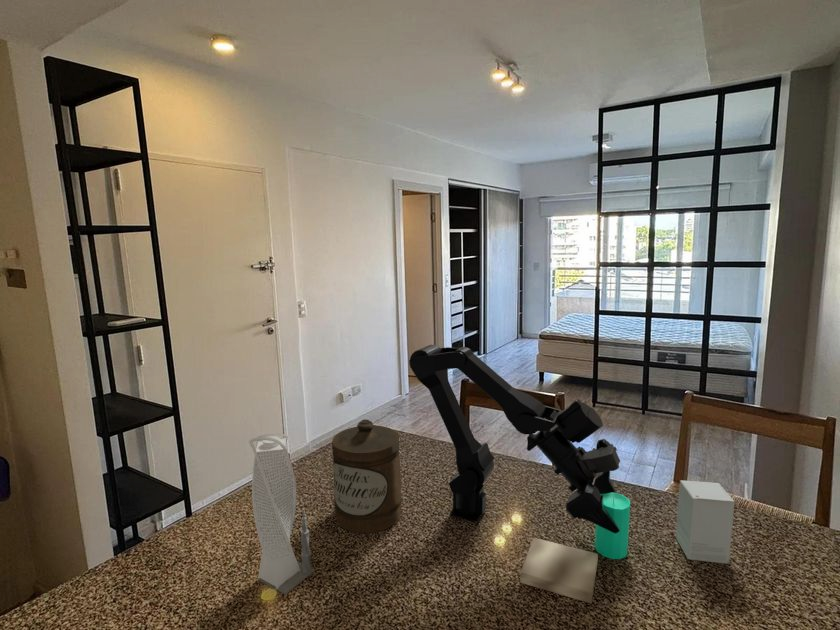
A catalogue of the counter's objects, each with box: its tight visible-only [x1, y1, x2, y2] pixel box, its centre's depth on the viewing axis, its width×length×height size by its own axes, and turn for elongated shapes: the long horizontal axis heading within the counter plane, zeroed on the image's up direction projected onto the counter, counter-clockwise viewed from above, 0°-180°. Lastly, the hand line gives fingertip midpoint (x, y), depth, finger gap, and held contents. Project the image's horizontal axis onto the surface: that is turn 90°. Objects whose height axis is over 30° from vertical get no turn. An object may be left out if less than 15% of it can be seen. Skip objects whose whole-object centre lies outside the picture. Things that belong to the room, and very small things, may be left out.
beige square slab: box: [519, 537, 599, 604], centre depth 87 cm, size 12×11×2 cm
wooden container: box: [331, 419, 403, 534], centre depth 105 cm, size 15×15×22 cm
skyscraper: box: [248, 433, 315, 595], centre depth 85 cm, size 8×8×28 cm
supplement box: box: [675, 479, 736, 565], centre depth 92 cm, size 7×7×13 cm
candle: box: [594, 492, 632, 560], centre depth 93 cm, size 6×6×12 cm
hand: (619, 519), depth 92 cm, fingers open, 9 cm apart
